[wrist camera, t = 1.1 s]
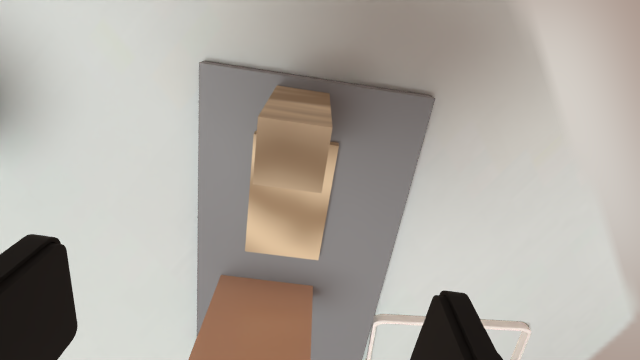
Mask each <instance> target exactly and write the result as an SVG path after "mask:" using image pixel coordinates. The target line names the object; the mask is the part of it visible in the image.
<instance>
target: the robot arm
mask: <svg viewBox="0 0 640 360" xmlns="http://www.w3.org/2000/svg"><path fill="white" fill-rule="evenodd" d="M76 331H77V319H76V312H75V305H74V298H73V292H72V285H71V278H70V271H69V264H68V258H67V251H66V247H65V246H64V245H62V244H61V243H60V241H59V240H58V238H55V237H48V236H41V235H34V234H31V235H27V236H25V237H23V238H22V239H21V240H19V241H18V242H17V243H15V244H14V245H13V246H11V247H10V248H9V249H7V250H6V251H4V252H3V253H2V254H0V360H57V359H58V358H59V357H60V355H61V354H62V353H63V352H64V350H65V349H66V348H67V346H68V345H69V344H70V343H71V341H72V340H73V338H74V336H75V334H76ZM410 360H503V359H502V358H501V356H500V355H499V354H498V353H497V351H496V349H495V347H494V346H493V344H492V342H491V340H490V338H489V336H488V334H487V332H486V330H485V328H484V326H483V324H482V322H481V320H480V318H479V316H478V314H477V312H476V311H475V309H474V307H473V305H472V303H471V301H470V299H469V297H468V296H467V295H466V294H465V293H459V292H451V291H442V292H441V293H440V295H439V296H438V295H435V296H434V297H433V299H432V301H431V304H430V307H429V310H428V312H427V315H426V318H425V320H424V323H423V326H422V329H421V331H420V334H419V337H418V339H417V342H416V345H415V348H414V350H413V353H412V356H411V359H410Z"/></svg>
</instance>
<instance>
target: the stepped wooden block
mask: <svg viewBox="0 0 640 360" xmlns="http://www.w3.org/2000/svg"><path fill="white" fill-rule="evenodd" d="M332 128H333V127H332V116H331V105H330V94H329V93H324V92H317V91H311V90H304V89H297V88H291V87H284V86H276V88H275V89H274V91H273V93H272V94H271V96H270V98H269V99H268V101H267V103H266V104H265V106H264V108H263V109H262V111H261V113H260V114H259V116H258V123H257V131H255V132H254V136H253V150H252V163H251V177H250V190H249V204H248V217H247V230H246V244H245V251H246V252H255V253H263V254H271V255H279V256H287V257H295V258H303V259H311V260H319V254H320V249H321V243H322V237H323V232H324V226H325V221H326V215H327V210H328V204H329V198H330V193H331V187H332V182H333V176H334V171H335V165H336V159H337V154H338V148H339V143H337V142H330V140H331V134H332Z"/></svg>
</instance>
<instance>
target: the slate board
mask: <svg viewBox="0 0 640 360" xmlns="http://www.w3.org/2000/svg"><path fill="white" fill-rule="evenodd" d="M276 86H284V87H291V88H297V89H304V90H311V91H317V92H324V93H329V94H330V105H331V116H332V127H333V128H332V134H331V140H330V142H337V143H339V148H338V154H337V159H336V165H335V171H334V176H333V182H332V187H331V193H330V198H329V204H328V210H327V215H326V221H325V226H324V232H323V237H322V243H321V249H320V254H319V260H311V259H303V258H295V257H287V256H279V255H271V254H263V253H255V252H246V251H245V244H246V230H247V217H248V204H249V190H250V177H251V163H252V150H253V136H254V132H255V131H257V123H258V116H259V114H260V113H261V111H262V109H263V108H264V106H265V104H266V103H267V101H268V99H269V98H270V96H271V94H272V93H273V91H274V89H275V88H276ZM434 101H435V98H434V97H432V96H430V95H424V94H417V93H411V92H404V91H397V90H391V89H384V88H378V87H371V86H365V85H358V84H351V83H345V82H338V81H332V80H325V79H319V78H312V77H305V76H299V75H292V74H286V73H279V72H273V71H266V70H260V69H253V68H246V67H240V66H233V65H227V64H220V63H214V62H207V61H202V62H200V63H199V146H198V267H197V336H198V334H199V331H200V328H201V326H202V323H203V320H204V318H205V315H206V313H207V310H208V307H209V305H210V302H211V299H212V297H213V294H214V292H215V289H216V286H217V284H218V281H219V278H220V276H221V275H226V276H235V277H243V278H252V279H260V280H268V281H277V282H285V283H293V284H302V285H310V286H313V300H312V331H311V360H362V357H363V354H364V350H365V347H366V343H367V340H368V336H369V332H370V329H371V325H372V322H373V318H374V315H375V311H376V308H377V304H378V300H379V297H380V293H381V290H382V286H383V283H384V279H385V275H386V272H387V268H388V265H389V261H390V258H391V254H392V251H393V247H394V243H395V240H396V236H397V233H398V229H399V226H400V222H401V218H402V215H403V211H404V208H405V204H406V201H407V197H408V194H409V190H410V186H411V183H412V179H413V176H414V172H415V169H416V165H417V161H418V158H419V154H420V151H421V147H422V144H423V140H424V137H425V133H426V129H427V126H428V122H429V119H430V115H431V112H432V108H433V105H434Z"/></svg>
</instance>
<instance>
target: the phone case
mask: <svg viewBox="0 0 640 360" xmlns="http://www.w3.org/2000/svg"><path fill="white" fill-rule="evenodd" d="M425 318H426V316H408V315H390V314H379V315H375V316H374V318H373V322H372V325H371V326H372V330H371V336H370V342H369V348H368V354H367V358H365V360H370V358H371V353H372V347H373V341H374V336H375V330H376V326H377V325H379V324H405V325H423V323H424V320H425ZM480 320H481V319H480ZM481 322H482V324H483V326H484V328H485V329H496V330H514V331H522V332H521V335H520V337H519V340H518V342H517V345H516V347H515V350H514V352H513V354H512V357H511V359H510V360H520V358H521V356H522V354H523V351H524V349H525V347H526V344H527V342H528V339H529V337H530V335H531V330H530V329H529V327H528V326H527V324H525V323H523V322H518V321H499V320H481Z"/></svg>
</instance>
